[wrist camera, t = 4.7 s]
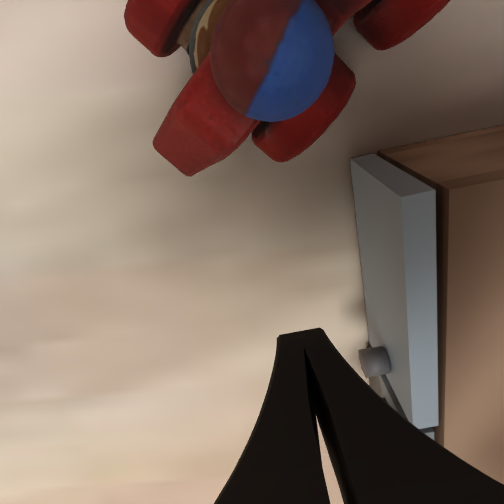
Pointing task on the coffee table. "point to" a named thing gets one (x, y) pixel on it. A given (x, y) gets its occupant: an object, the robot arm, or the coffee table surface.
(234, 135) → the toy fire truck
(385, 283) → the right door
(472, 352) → the cabinet
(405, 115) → the coffee table surface
